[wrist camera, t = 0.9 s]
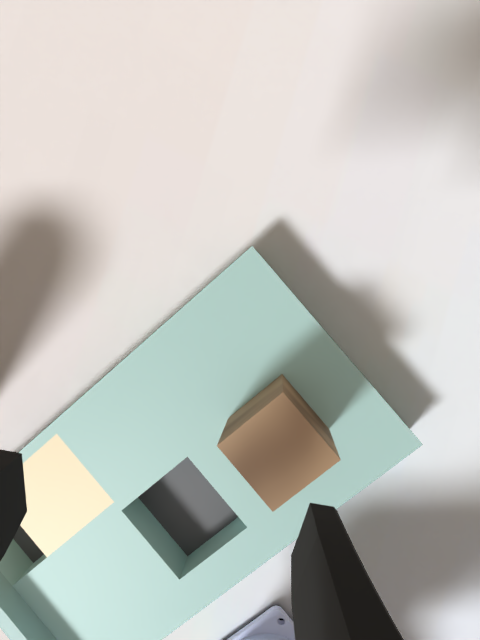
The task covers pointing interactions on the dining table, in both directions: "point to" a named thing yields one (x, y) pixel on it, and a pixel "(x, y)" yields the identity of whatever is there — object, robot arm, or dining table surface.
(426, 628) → the dining table surface
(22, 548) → the board
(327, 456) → the walnut block
